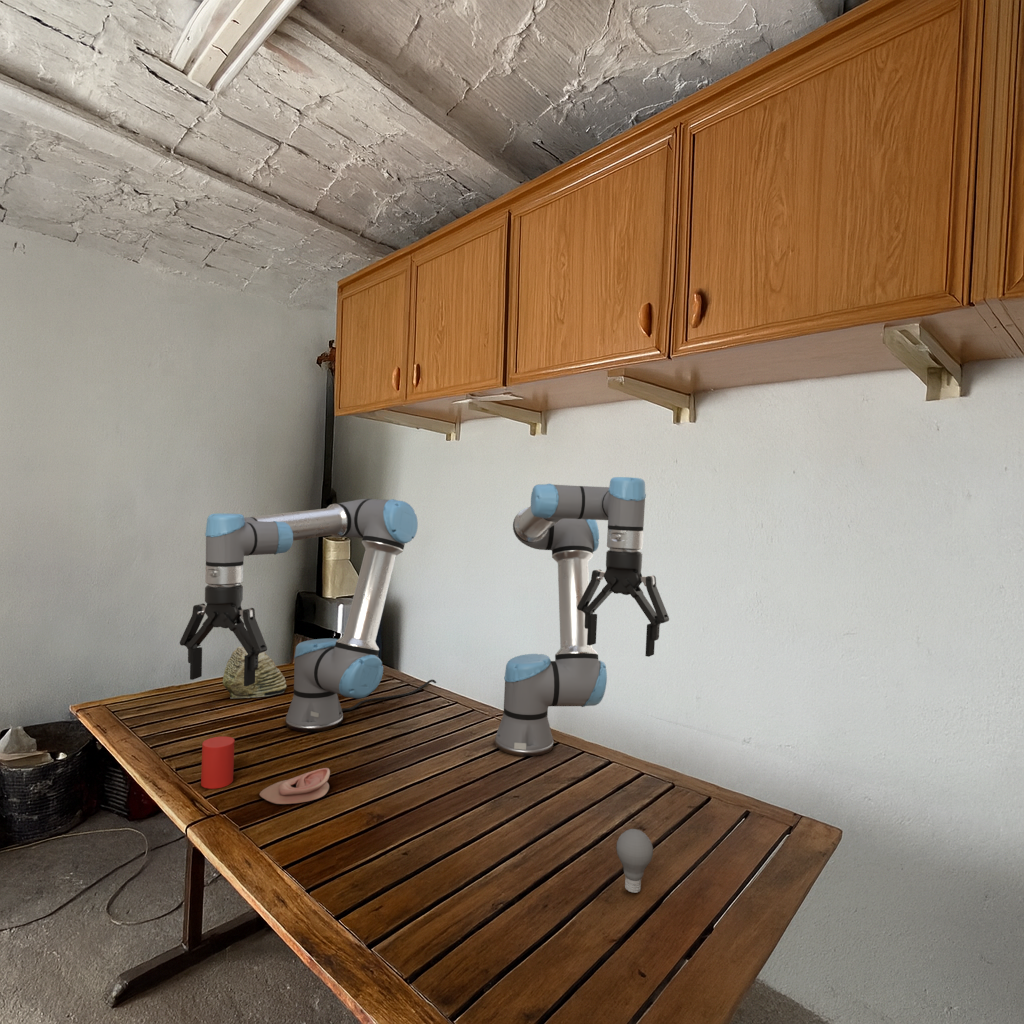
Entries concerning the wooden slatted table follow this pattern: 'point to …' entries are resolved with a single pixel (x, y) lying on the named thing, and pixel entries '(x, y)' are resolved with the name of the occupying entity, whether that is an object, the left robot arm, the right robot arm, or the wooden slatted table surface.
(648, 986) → the wooden slatted table surface
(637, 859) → the light bulb
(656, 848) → the wooden slatted table surface
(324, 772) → the anatomical model
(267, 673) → the fossil
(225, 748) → the cylinder
